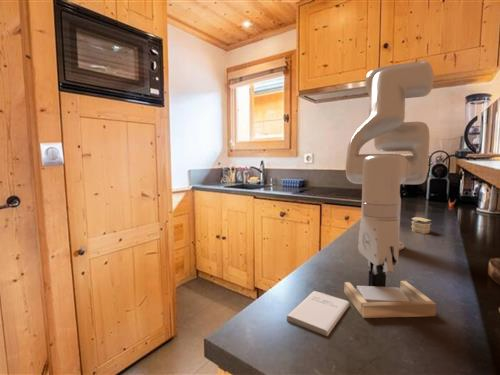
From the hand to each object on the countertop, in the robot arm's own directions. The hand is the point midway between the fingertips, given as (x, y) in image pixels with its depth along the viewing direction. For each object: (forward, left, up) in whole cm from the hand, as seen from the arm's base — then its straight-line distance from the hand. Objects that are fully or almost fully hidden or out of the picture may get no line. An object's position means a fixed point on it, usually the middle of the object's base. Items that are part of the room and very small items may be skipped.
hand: (376, 288), depth 63 cm
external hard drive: (+7, -15, -2) cm, 17 cm away
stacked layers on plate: (-51, +43, -2) cm, 67 cm away
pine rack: (+4, 0, -1) cm, 4 cm away
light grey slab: (+5, -1, -1) cm, 5 cm away
